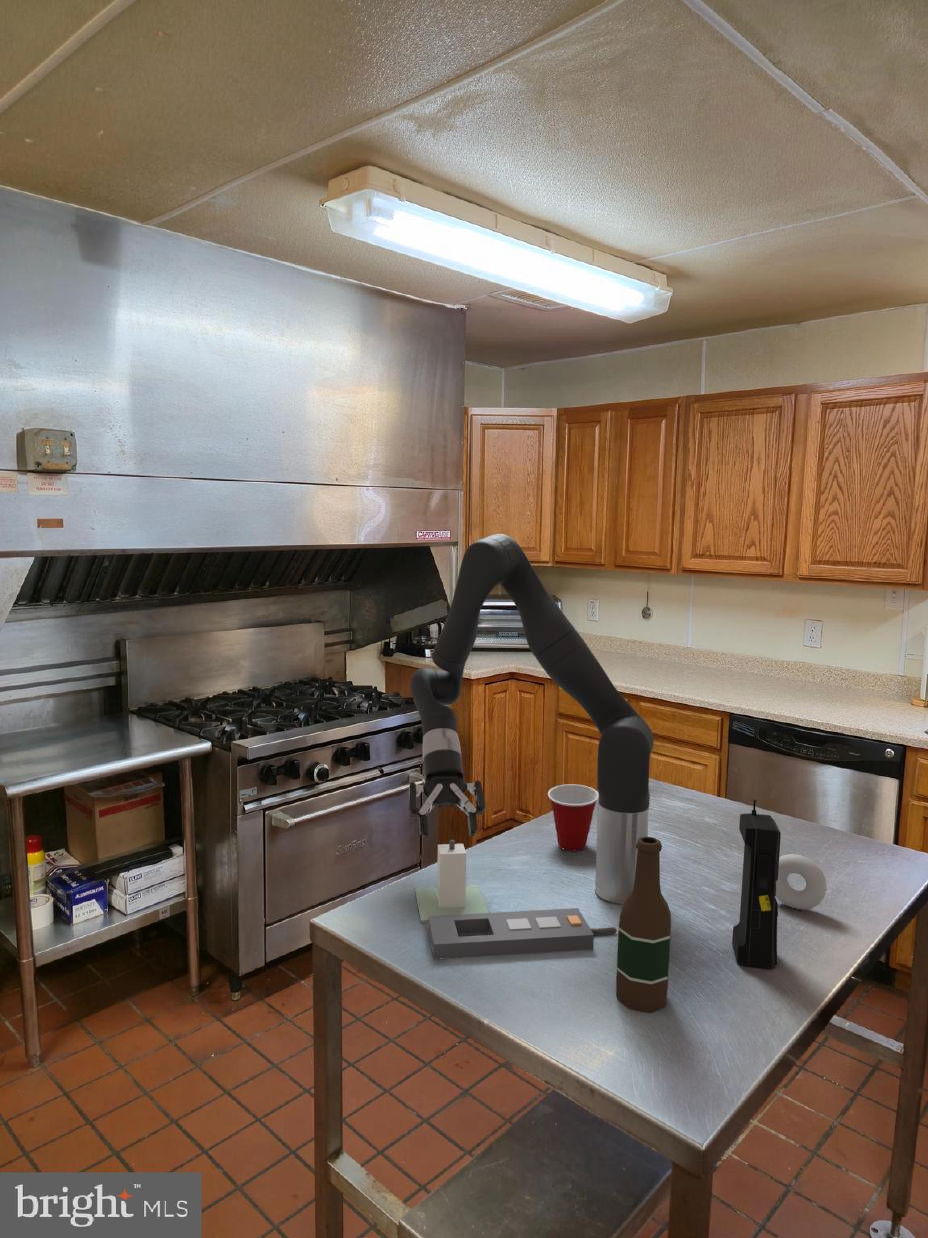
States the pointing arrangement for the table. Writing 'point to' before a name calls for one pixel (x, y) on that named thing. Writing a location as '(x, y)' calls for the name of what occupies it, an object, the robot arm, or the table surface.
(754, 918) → the portable radio
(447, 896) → the block
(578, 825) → the plastic cup
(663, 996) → the beer bottle
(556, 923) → the power strip
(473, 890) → the mat
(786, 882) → the donut
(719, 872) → the table surface
